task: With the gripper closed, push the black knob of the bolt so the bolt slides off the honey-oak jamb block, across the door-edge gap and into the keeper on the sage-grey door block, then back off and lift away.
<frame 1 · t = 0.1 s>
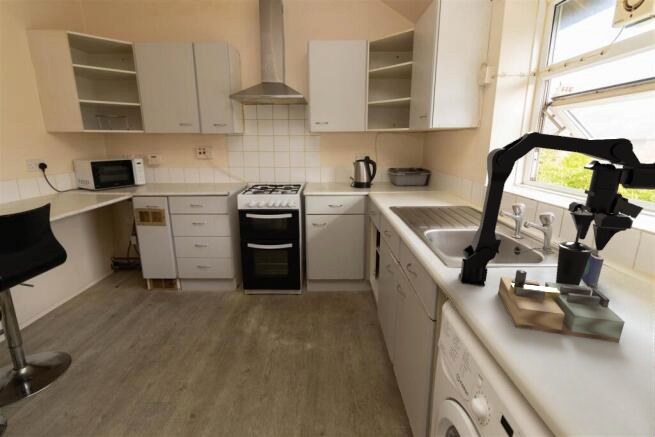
hand: (590, 244, 85), 15 cm above the countertop, fingers open, 9 cm apart
drinking cup: (565, 292, 90), on the countertop
bolt: (535, 283, 77), point 8 cm above the countertop, slide at 0.0 cm
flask: (588, 281, 97), on the countertop
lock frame: (550, 314, 78), on the countertop
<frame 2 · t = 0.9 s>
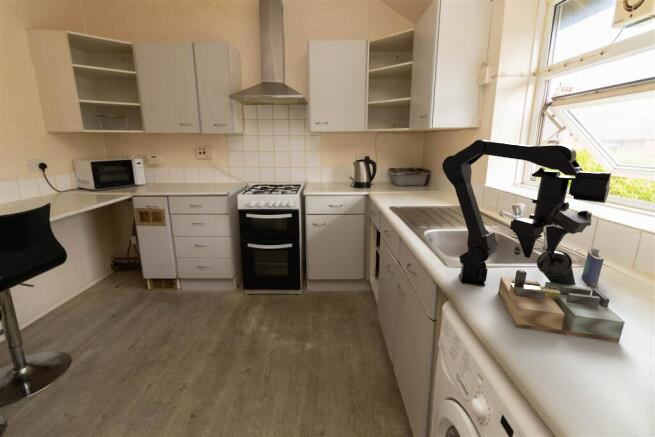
hand: (539, 255, 82), 13 cm above the countertop, fingers open, 9 cm apart
drinking cup: (565, 286, 89), point 2 cm above the countertop, touching gripper, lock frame
everything else where it was.
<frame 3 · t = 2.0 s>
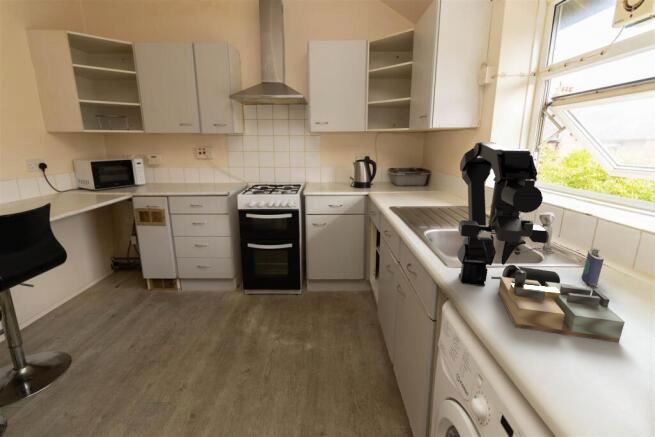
hand: (495, 263, 79), 12 cm above the countertop, fingers open, 3 cm apart
drinking cup: (553, 279, 92), point 2 cm above the countertop, touching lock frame
everything else where it was.
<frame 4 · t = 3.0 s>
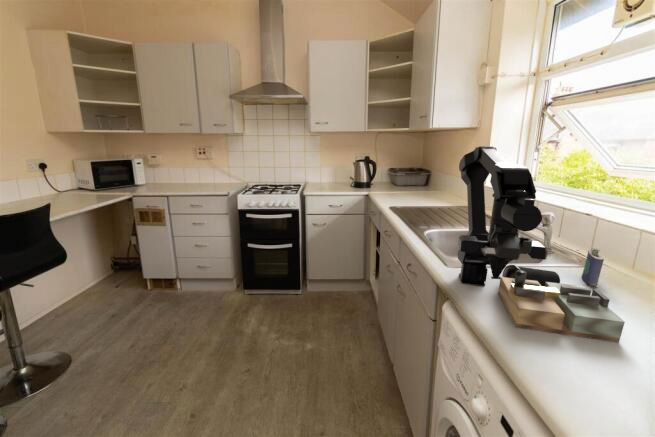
hand: (495, 278, 80), 8 cm above the countertop, fingers closed
nothing on the countertop moved.
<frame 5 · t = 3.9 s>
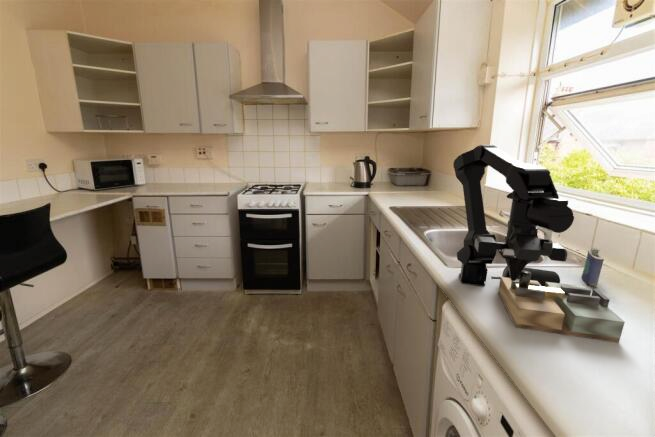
hand: (512, 280, 79), 8 cm above the countertop, fingers closed
bolt: (540, 284, 77), point 8 cm above the countertop, slide at 1.0 cm, touching gripper
everything else where it was.
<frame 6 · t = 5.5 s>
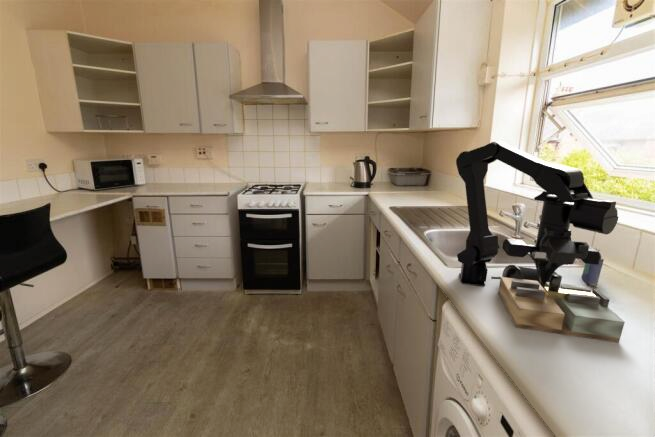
hand: (542, 283, 77), 8 cm above the countertop, fingers closed
bolt: (570, 287, 75), point 8 cm above the countertop, slide at 7.5 cm, touching gripper
everything else where it was.
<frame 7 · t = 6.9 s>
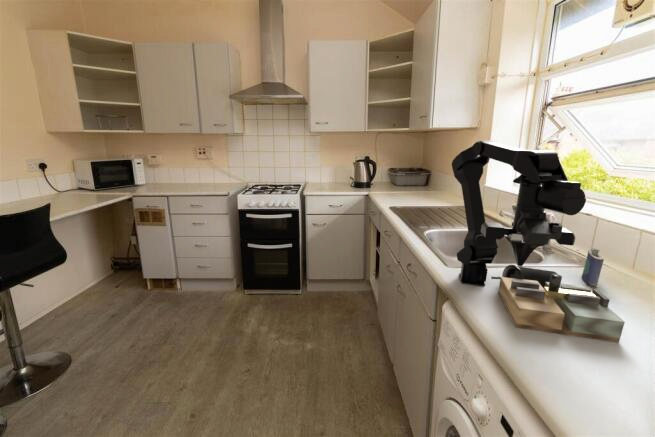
hand: (519, 265, 78), 12 cm above the countertop, fingers closed
bolt: (571, 287, 75), point 8 cm above the countertop, slide at 7.5 cm
everything else where it was.
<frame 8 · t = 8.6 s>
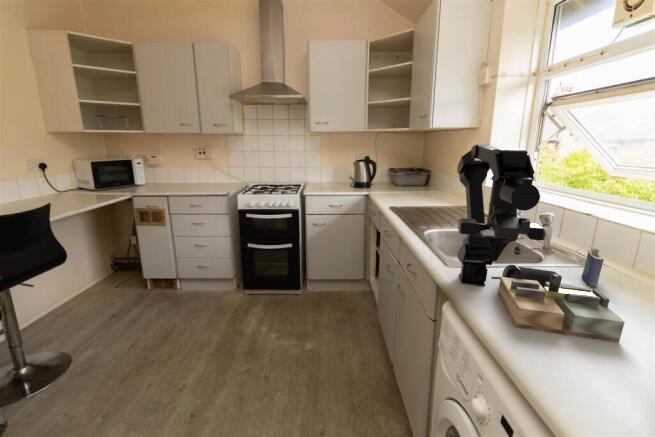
hand: (494, 260, 81), 12 cm above the countertop, fingers closed
nothing on the countertop moved.
at the end: bolt slide at 7.5 cm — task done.
